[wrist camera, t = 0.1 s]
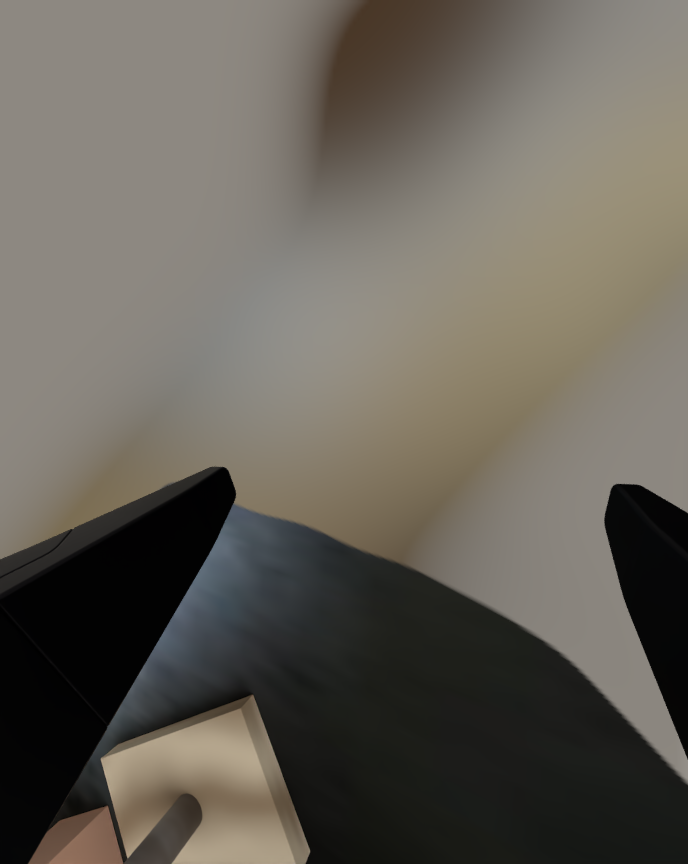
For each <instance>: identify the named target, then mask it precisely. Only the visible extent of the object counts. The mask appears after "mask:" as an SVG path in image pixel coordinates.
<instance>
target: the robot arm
mask: <svg viewBox="0 0 688 864" xmlns="http://www.w3.org/2000/svg"><path fill="white" fill-rule="evenodd" d="M235 498H236V490H235V487H234V485H233V482H232V479H231V476H230V474H229V471H228V470H227V469H226V468H225V467H210V468H207V469H205V470H203V471H201V472H198V473H196V474H194V475H192V476H190V477H187V478H185V479H183V480H180V481H178V482H176V483H174V484H171V485H169V486H167V487H165V488H162V489H160V490H158V491H156V492H154V493H151V494H149V495H147V496H145V497H142V498H140V499H138V500H136V501H133V502H131V503H129V504H127V505H124V506H122V507H120V508H118V509H115V510H113V511H111V512H109V513H106V514H104V515H102V516H100V517H97V518H95V519H93V520H91V521H89V522H86V523H84V524H82V525H79V526H77V527H75V528H74V529H70V530H68V531H66V532H63V533H61V534H59V535H57V536H54V537H52V538H50V539H48V540H45V541H43V542H41V543H39V544H36V545H34V546H31V547H29V548H27V549H24V550H22V551H19V552H17V553H15V554H12V555H10V556H7V557H5V558H3V559H0V864H28V863H29V862H30V860H31V858H32V857H33V855H34V853H35V852H36V850H37V848H38V846H39V845H40V843H41V841H42V840H43V838H44V836H45V834H46V833H47V831H48V829H49V828H50V826H51V824H52V822H53V821H54V819H55V817H56V816H57V814H58V812H59V810H60V809H61V807H62V805H63V804H64V802H65V800H66V798H67V797H68V795H69V793H70V792H71V790H72V788H73V786H74V785H75V783H76V781H77V780H78V778H79V776H80V774H81V773H82V771H83V769H84V768H85V766H86V764H87V762H88V761H89V759H90V757H91V756H92V754H93V752H94V750H95V749H96V747H97V745H98V744H99V742H100V740H101V738H102V737H103V735H104V733H105V732H106V730H107V726H108V725H109V724H110V722H111V721H112V719H113V717H114V716H115V714H116V712H117V711H118V709H119V707H120V705H121V704H122V702H123V700H124V699H125V697H126V695H127V693H128V692H129V690H130V688H131V687H132V685H133V683H134V681H135V680H136V678H137V676H138V675H139V673H140V671H141V669H142V668H143V666H144V664H145V663H146V661H147V659H148V658H149V656H150V654H151V652H152V651H153V649H154V647H155V646H156V644H157V642H158V640H159V639H160V637H161V635H162V634H163V632H164V630H165V628H166V627H167V625H168V623H169V622H170V620H171V618H172V616H173V615H174V613H175V611H176V610H177V608H178V606H179V605H180V603H181V601H182V599H183V598H184V596H185V594H186V593H187V591H188V589H189V587H190V586H191V584H192V582H193V581H194V579H195V577H196V575H197V574H198V572H199V570H200V569H201V567H202V565H203V563H204V562H205V560H206V558H207V557H208V555H209V553H210V551H211V550H212V548H213V546H214V544H215V542H216V540H217V538H218V535H219V533H220V531H221V529H222V527H223V525H224V523H225V520H226V518H227V516H228V514H229V512H230V510H231V507H232V505H233V503H234V501H235ZM604 521H605V522H604V523H605V529H606V533H607V537H608V541H609V545H610V548H611V552H612V556H613V560H614V564H615V568H616V571H617V575H618V579H619V583H620V587H621V590H622V593H623V597H624V600H625V603H626V606H627V608H628V611H629V613H630V616H631V619H632V621H633V624H634V626H635V629H636V631H637V634H638V636H639V638H640V641H641V644H642V646H643V649H644V651H645V654H646V656H647V659H648V661H649V664H650V666H651V668H652V671H653V674H654V676H655V679H656V681H657V683H658V686H659V689H660V691H661V693H662V696H663V699H664V701H665V704H666V706H667V709H668V711H669V714H670V716H671V719H672V721H673V724H674V726H675V729H676V731H677V733H678V736H679V739H680V741H681V744H682V746H683V749H684V751H685V754H686V756H687V759H688V513H687V512H685V511H683V510H682V509H680V508H678V507H677V506H675V505H673V504H672V503H670V502H668V501H666V500H665V499H663V498H661V497H660V496H658V495H656V494H655V493H653V492H651V491H649V490H648V489H646V488H644V487H642V486H640V485H634V484H633V485H632V484H616V485H614V486H613V487H612V489H611V491H610V496H609V500H608V504H607V508H606V512H605V518H604Z"/></svg>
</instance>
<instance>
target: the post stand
mask: <svg viewBox="0 0 688 864" xmlns="http://www.w3.org/2000/svg"><path fill="white" fill-rule="evenodd" d="M101 762H102V765H103V769H104V773H105V776H106V780H107V784H108V787H109V791H110V795H111V799H112V802H113V806H114V810H115V813H116V817H117V821H118V824H119V828H120V832H121V836H122V839H123V843H124V847H125V850H126V854H127V858H128V859H127V860H126V861H125V862H124V864H305V863H306V861H307V858H308V856H309V853H310V849H309V847H308V844H307V841H306V838H305V836H304V833H303V830H302V827H301V825H300V822H299V819H298V816H297V814H296V811H295V808H294V806H293V803H292V800H291V797H290V795H289V792H288V789H287V786H286V784H285V781H284V778H283V775H282V773H281V770H280V767H279V764H278V762H277V759H276V756H275V753H274V751H273V748H272V745H271V743H270V740H269V737H268V734H267V732H266V729H265V726H264V723H263V721H262V718H261V715H260V712H259V710H258V707H257V704H256V701H255V699H254V696H253V695H250V696H248V697H245V698H242V699H239V700H237V701H234V702H231V703H229V704H226V705H223V706H220V707H218V708H215V709H212V710H210V711H207V712H204V713H201V714H199V715H196V716H193V717H191V718H188V719H185V720H182V721H180V722H177V723H174V724H172V725H169V726H166V727H163V728H161V729H158V730H155V731H153V732H150V733H147V734H144V735H142V736H139V737H136V738H134V739H131V740H128V741H125V742H123V743H120V744H118V745H117V746H115V747H114V748H113V749H112V750H111V751H109V752H108V753H107V754H106V755H105V756H103V757H102V758H101Z"/></svg>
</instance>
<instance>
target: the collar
mask: <svg viewBox="0 0 688 864" xmlns="http://www.w3.org/2000/svg"><path fill="white" fill-rule="evenodd" d="M28 864H123V861H122V857H121V853H120V849H119V846H118V842H117V838H116V834H115V831H114V827H113V823H112V819H111V816H110V812H109V808H108V806H105V807H102V808H98V809H95V810H92V811H89V812H85V813H82V814H79V815H76V816H72V817H69V818H66V819H63V820H60V821H59V822H58V823H56V824H55V825H54V826H53V827H52V828H51V829H50V830H49V831H48V832H47V833H46V834H45V836H44V838H43V840H42V841H41V843H40V845H39V846H38V848H37V850H36V852H35V853H34V855H33V857H32V858H31V860H30V862H29V863H28Z"/></svg>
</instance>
